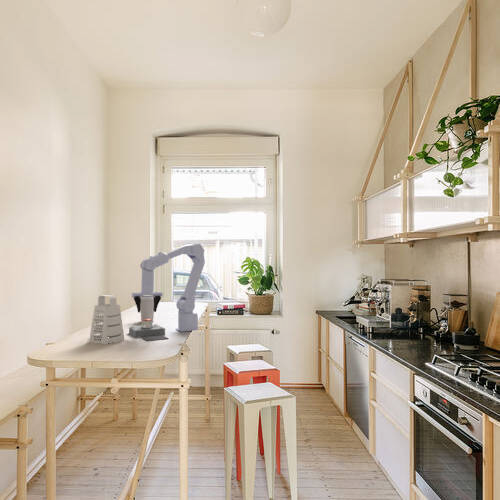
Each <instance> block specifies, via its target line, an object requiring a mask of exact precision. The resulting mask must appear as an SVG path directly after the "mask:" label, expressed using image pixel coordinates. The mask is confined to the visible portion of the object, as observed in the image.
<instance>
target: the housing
mask: <svg viewBox="0 0 500 500" xmlns="http://www.w3.org/2000/svg"><path fill="white" fill-rule="evenodd" d="M128 334H130V335H131V336H132V337H134V338H141V337H143V336H154V335H163V336H165V335H166V328H165V327H163V326H161V325H159V324H157V323H156V324H152V328H150V329H142V325H139V326H138V325H137V326H134V325H133V326H128Z"/></svg>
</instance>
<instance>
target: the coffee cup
mask: <svg viewBox="0 0 500 500" xmlns="http://www.w3.org/2000/svg"><path fill="white" fill-rule="evenodd" d="M144 296H154V295H144ZM140 298H141V303H140V321H141V323H142V319H152V323H153V322H154V317H155V316H154V314H155V312H154V310H153V309H154V299H153V297H140Z"/></svg>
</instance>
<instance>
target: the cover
mask: <svg viewBox="0 0 500 500" xmlns="http://www.w3.org/2000/svg"><path fill="white" fill-rule="evenodd" d="M152 325H153V322H152V319H142V322H141V326H142V329H150V328H152Z"/></svg>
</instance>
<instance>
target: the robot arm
mask: <svg viewBox="0 0 500 500" xmlns="http://www.w3.org/2000/svg"><path fill="white" fill-rule="evenodd" d="M181 255H186V256H187V257H189V258H190V259H191V261H192V263H193V264H192V266H191V267H192V268H191V269H190V270H191V271H190V274H189V277H188V280H187V283H186V286H185V289H184V291H183V293H182V294H181V295H180V298H179V299H178V300H177V301H176V308H177V310H178V311H177V312H178V313H177V315H178V316H177V317H178V318H177V320H178V321H177V323H178V324H177V325H178V326H177V328H176V327H175V331H176V330H177V331H179V332H190V331H199V328H198V327H199V319H198V318H199V317H198V312H196V311H194V310H195V308H196V303H195V302H196V297H195V293H196V291H197V288H198V285H199V282H200V278H201V277H202V272H203V269H204V267H205V264H206V263H205V262H206V261H205V248H204V247H203V246H202V244H200V243H188V244H185V245H182V246H179V247H177V248H175V249H172V250H170V251H169V252H162V251H159V252H157V254H155V255H153V256H149V258H144V259H143V260H142V261H141V263H140V264H139V266H140V269H141V288H140V289H141V291H140V292H131V298H133V300H134V302H135V305H136V308H137V313H140V314H141V310H140V303H141V298H140V297H153V299H154V309H153V310H154V313H156V312H157V309H158V306H159V303H160V301H161V300H162V297H163V296H164V294H163V292H157V291H156V292H155V291H154V290H155V288H154V287H155V285H154V284H155V283H154V282H155V269H157V268H159V267H161V266H163V265H165V264H168V263H169V261H170V260H171V259H174V258H176V257H178V256H181ZM144 295H154V296H144Z"/></svg>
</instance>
